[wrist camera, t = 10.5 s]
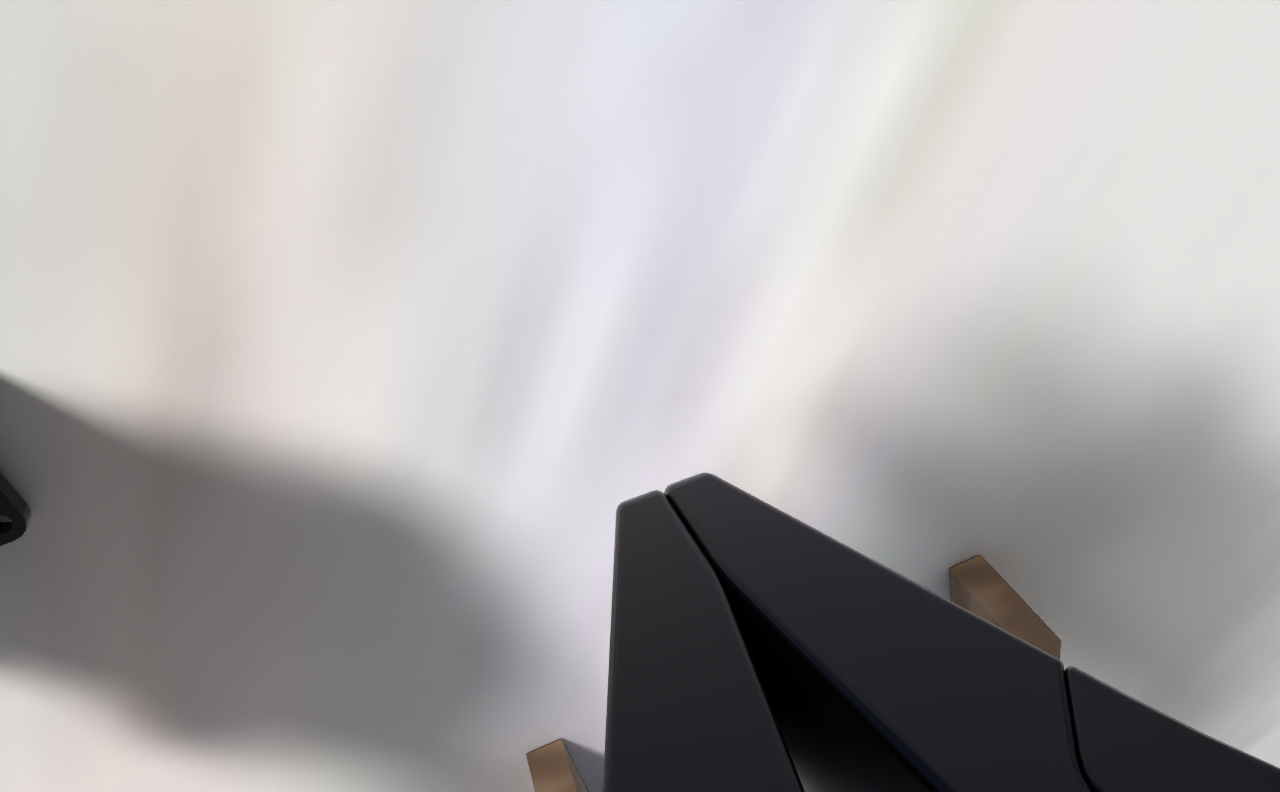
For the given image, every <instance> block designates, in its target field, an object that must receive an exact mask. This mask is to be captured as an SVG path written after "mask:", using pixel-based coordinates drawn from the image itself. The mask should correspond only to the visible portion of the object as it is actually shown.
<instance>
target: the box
mask: <svg viewBox="0 0 1280 792" xmlns="http://www.w3.org/2000/svg"><path fill="white" fill-rule="evenodd" d="M950 586H951V602H953V603H955V604H956V605H958V606H960V607H962V608H964V609H966V610H968V611H970V612H971V613H973V614H975V615H977V616H979V617H981V618H983V619H985V620H986V621H988V622H990V623H992V624H994V625H996V626H998V627H1000V628H1001V629H1003V630H1005V631H1007V632H1009V633H1011V634H1013V635H1015V636H1016V637H1018V638H1020V639H1022V640H1024V641H1026V642H1028V643H1030V644H1031V645H1033V646H1035V647H1037V648H1039V649H1041V650H1043V651H1045V652H1046V653H1048V654H1050V655H1052V656H1054V657H1056V658H1058V659H1059V660H1060V646H1061V640H1060V639H1059V638H1058V637H1057V636H1056V634H1055V633H1054V632H1053V631H1052V630H1051V629H1050V628H1049V627H1048V626H1047V625H1046V624H1045V623H1044V622H1043V621H1042V620H1041V619H1040V617H1039V616H1038V615H1037V614H1036V613H1035V612H1034V611H1033V610H1032V609H1031V608H1030V607H1029V606H1028V605H1027V604H1026V603H1025V601H1024V600H1023V599H1022V598H1021V597H1020V596H1019V595H1018V594H1017V593H1016V592H1015V591H1014V590H1013V589H1012V588H1011V587H1010V586H1009V584H1008V583H1007V582H1006V581H1005V580H1004V579H1003V578H1002V577H1001V576H1000V575H999V574H998V573H997V572H996V571H995V570H994V568H993V567H992V566H991V565H990V564H989V563H988V562H987V561H986V560H985V559H984V558H983V557H982V556H981V555H979V556H977V557H975V558H973V559H970V560H968V561H966V562H963V563H961V564H959V565H957V566H954V567H952V568H950ZM526 756H527V760H528V764H529V768H530V772H531V776H532V780H533V784H534V788H535V792H588V790H587V788H586V786H585V784H584V782H583V780H582V778H581V776H580V774H579V772H578V770H577V769H576V767H575V765H574V763H573V761H572V759H571V757H570V755H569V753H568V751H567V749H566V747H565V745H564V743H563V741H562V739H560V740H557V741H555V742H553V743H550V744H548V745H546V746H544V747H541V748H539V749H537V750H535V751H532V752H530V753H528V754H526Z"/></svg>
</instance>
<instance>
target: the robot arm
mask: <svg viewBox="0 0 1280 792" xmlns="http://www.w3.org/2000/svg"><path fill="white" fill-rule="evenodd" d="M0 515H4V516H7V517H8V518H10V519H11V520H12V521H10V522H0V546H2V545H4V544H7V543H9V542H12V541H14V540H16V539H18V538H19V537H21V536H22V535H23V534H24V532H25V531H26V529H27V526H28V524H29V521H30V519H31V510H30V508H29V506H28V504H27V503H26V502H25V501H24V499H23V498H22V497H21V496H20V495H19V494H18V493H17V491H16V490H15V489H14V488H13V487H12V486H11V485H10V483H9V482H8V481H7V480H6V479H5V478H4V476H3V475H2V474H1V473H0ZM603 792H1280V768H1278V767H1275V766H1274V765H1271V764H1269V763H1267V762H1265V761H1263V760H1260V759H1258V758H1256V757H1254V756H1251V755H1249V754H1247V753H1245V752H1243V751H1240V750H1238V749H1236V748H1234V747H1232V746H1229V745H1227V744H1225V743H1223V742H1221V741H1218V740H1216V739H1214V738H1212V737H1210V736H1207V735H1205V734H1203V733H1201V732H1199V731H1197V730H1195V729H1193V728H1191V727H1189V726H1188V725H1186V724H1184V723H1182V722H1180V721H1178V720H1176V719H1174V718H1172V717H1170V716H1168V715H1166V714H1164V713H1162V712H1160V711H1158V710H1156V709H1154V708H1152V707H1150V706H1148V705H1146V704H1144V703H1142V702H1140V701H1138V700H1136V699H1134V698H1132V697H1130V696H1128V695H1126V694H1124V693H1122V692H1120V691H1118V690H1117V689H1115V688H1113V687H1111V686H1109V685H1107V684H1105V683H1103V682H1102V681H1100V680H1098V679H1096V678H1094V677H1092V676H1090V675H1088V674H1087V673H1085V672H1083V671H1081V670H1079V669H1077V668H1075V667H1072V666H1070V667H1068V668H1066V669H1065V672H1064V666H1063V663H1062V661H1061V660H1059V659H1058V658H1056V657H1054V656H1052V655H1050V654H1048V653H1046V652H1045V651H1043V650H1041V649H1039V648H1037V647H1035V646H1033V645H1031V644H1030V643H1028V642H1026V641H1024V640H1022V639H1020V638H1018V637H1016V636H1015V635H1013V634H1011V633H1009V632H1007V631H1005V630H1003V629H1001V628H1000V627H998V626H996V625H994V624H992V623H990V622H988V621H986V620H985V619H983V618H981V617H979V616H977V615H975V614H973V613H971V612H970V611H968V610H966V609H964V608H962V607H960V606H958V605H956V604H955V603H953V602H951V601H949V600H947V599H945V598H943V597H941V596H940V595H938V594H936V593H934V592H932V591H930V590H928V589H926V588H925V587H923V586H921V585H919V584H917V583H915V582H913V581H912V580H910V579H908V578H906V577H904V576H902V575H900V574H898V573H897V572H895V571H893V570H891V569H889V568H887V567H885V566H883V565H882V564H880V563H878V562H876V561H874V560H872V559H870V558H868V557H867V556H865V555H863V554H861V553H859V552H857V551H855V550H853V549H852V548H850V547H848V546H846V545H844V544H842V543H840V542H838V541H837V540H835V539H833V538H831V537H829V536H827V535H825V534H823V533H822V532H820V531H818V530H816V529H814V528H812V527H810V526H808V525H807V524H805V523H803V522H801V521H799V520H797V519H795V518H794V517H792V516H790V515H788V514H786V513H784V512H782V511H780V510H779V509H777V508H775V507H773V506H771V505H769V504H767V503H765V502H764V501H762V500H760V499H758V498H756V497H754V496H752V495H750V494H749V493H747V492H745V491H743V490H741V489H739V488H737V487H735V486H734V485H732V484H730V483H728V482H726V481H724V480H722V479H720V478H719V477H717V476H715V475H713V474H709V473H701V474H698V475H695V476H692V477H690V478H687V479H684V480H681V481H679V482H676V483H673V484H670V485H669V486H668V487H667V488H666V489H665V492H664V493H663V492H661V491H657V490H655V491H651V492H649V493H646V494H643V495H640V496H638V497H635V498H632V499H629V500H627V501H624V502H622V503H620V505H619V506H618V508H617V511H616V528H615V549H614V570H613V591H612V612H611V633H610V654H609V675H608V696H607V717H606V738H605V759H604V780H603Z"/></svg>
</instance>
